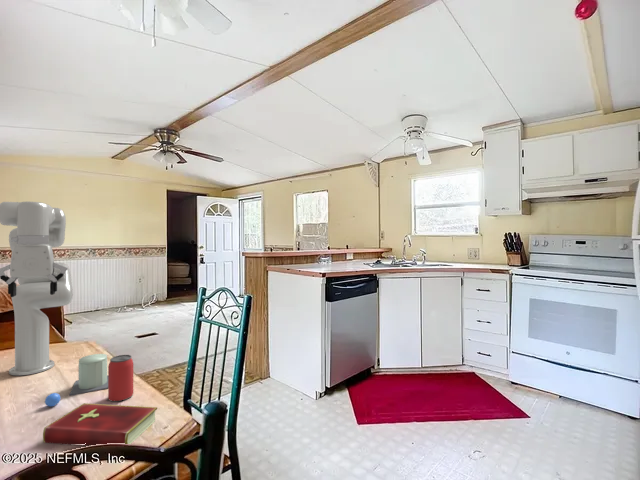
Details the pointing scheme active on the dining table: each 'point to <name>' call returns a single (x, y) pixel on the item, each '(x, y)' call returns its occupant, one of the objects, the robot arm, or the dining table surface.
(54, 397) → the marble
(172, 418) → the dining table surface
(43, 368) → the robot arm
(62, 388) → the dining table surface
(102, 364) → the mint green domed cylinder
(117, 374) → the beer can
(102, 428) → the hardcover book
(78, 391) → the slate mat
